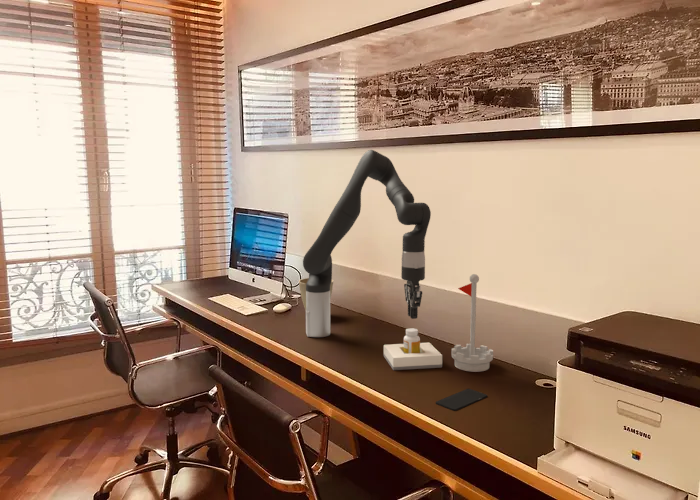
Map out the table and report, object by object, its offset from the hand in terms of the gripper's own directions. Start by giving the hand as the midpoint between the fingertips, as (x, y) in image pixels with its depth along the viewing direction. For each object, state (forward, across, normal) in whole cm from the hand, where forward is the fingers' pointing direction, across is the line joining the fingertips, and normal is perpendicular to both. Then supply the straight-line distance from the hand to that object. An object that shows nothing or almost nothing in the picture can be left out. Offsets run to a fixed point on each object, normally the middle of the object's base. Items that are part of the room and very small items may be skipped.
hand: (412, 316), depth 185 cm
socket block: (+15, 0, 0) cm, 15 cm away
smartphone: (+16, +33, +5) cm, 37 cm away
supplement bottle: (+14, 0, 0) cm, 14 cm away
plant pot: (+15, -64, -25) cm, 70 cm away
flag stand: (+15, +7, +18) cm, 25 cm away
